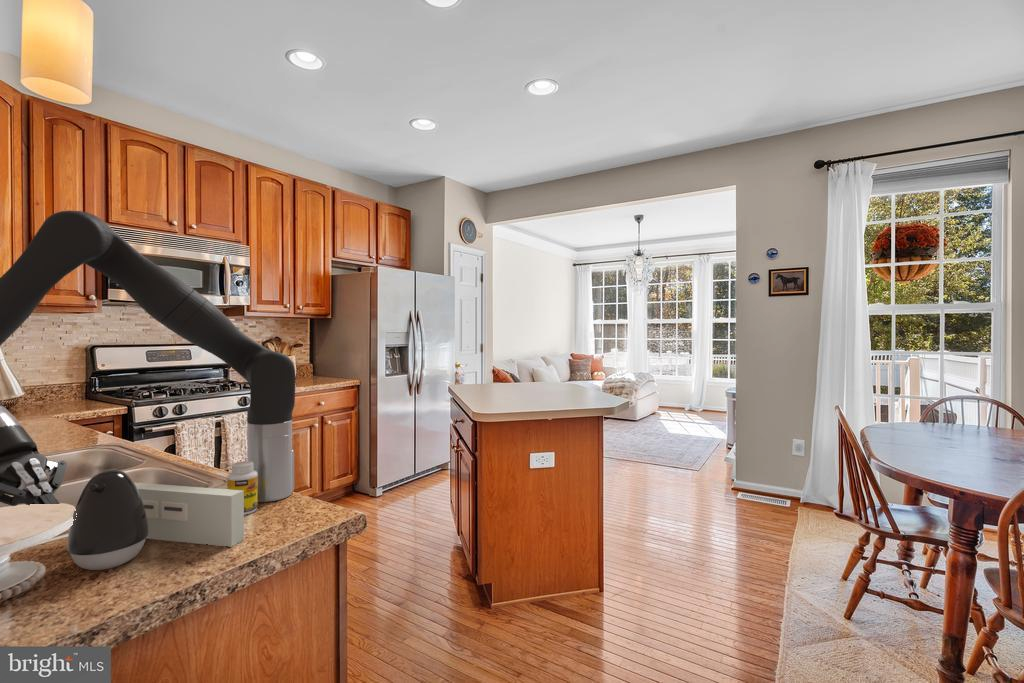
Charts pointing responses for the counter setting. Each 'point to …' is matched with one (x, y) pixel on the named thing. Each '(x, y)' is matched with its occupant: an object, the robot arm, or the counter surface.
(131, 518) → the dark grey egg device
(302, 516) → the counter surface
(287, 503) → the counter surface
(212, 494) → the rectangular box with label
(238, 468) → the supplement bottle
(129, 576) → the counter surface
